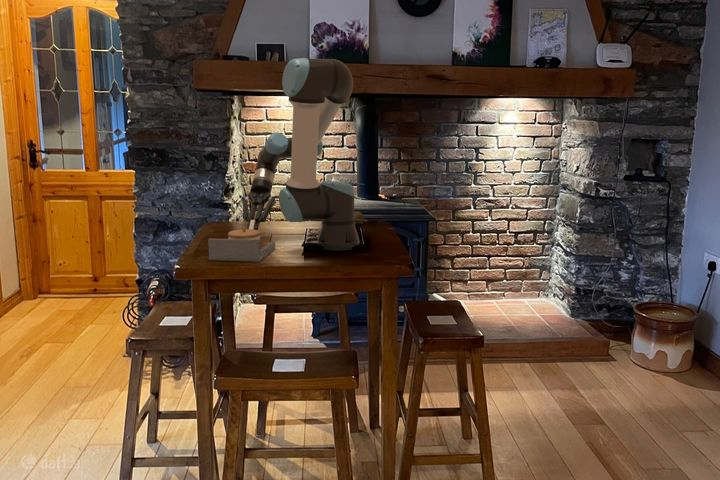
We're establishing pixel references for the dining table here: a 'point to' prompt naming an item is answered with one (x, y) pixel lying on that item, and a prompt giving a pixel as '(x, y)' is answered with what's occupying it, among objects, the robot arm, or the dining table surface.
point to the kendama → (358, 218)
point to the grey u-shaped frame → (238, 250)
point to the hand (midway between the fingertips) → (250, 237)
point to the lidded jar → (244, 234)
